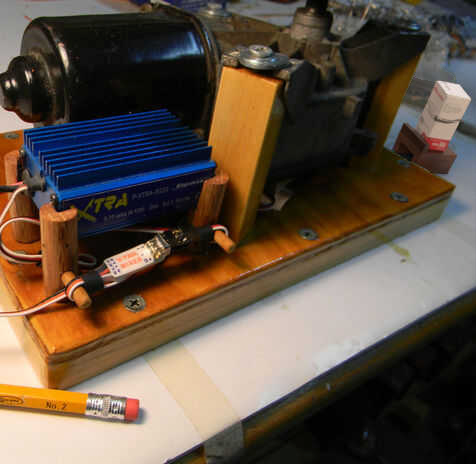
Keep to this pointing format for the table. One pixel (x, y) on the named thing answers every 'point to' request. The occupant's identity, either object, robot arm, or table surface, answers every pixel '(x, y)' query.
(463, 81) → the table surface
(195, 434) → the table surface
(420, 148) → the dark brown wooden box
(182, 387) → the table surface
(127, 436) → the table surface
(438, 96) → the ink box
